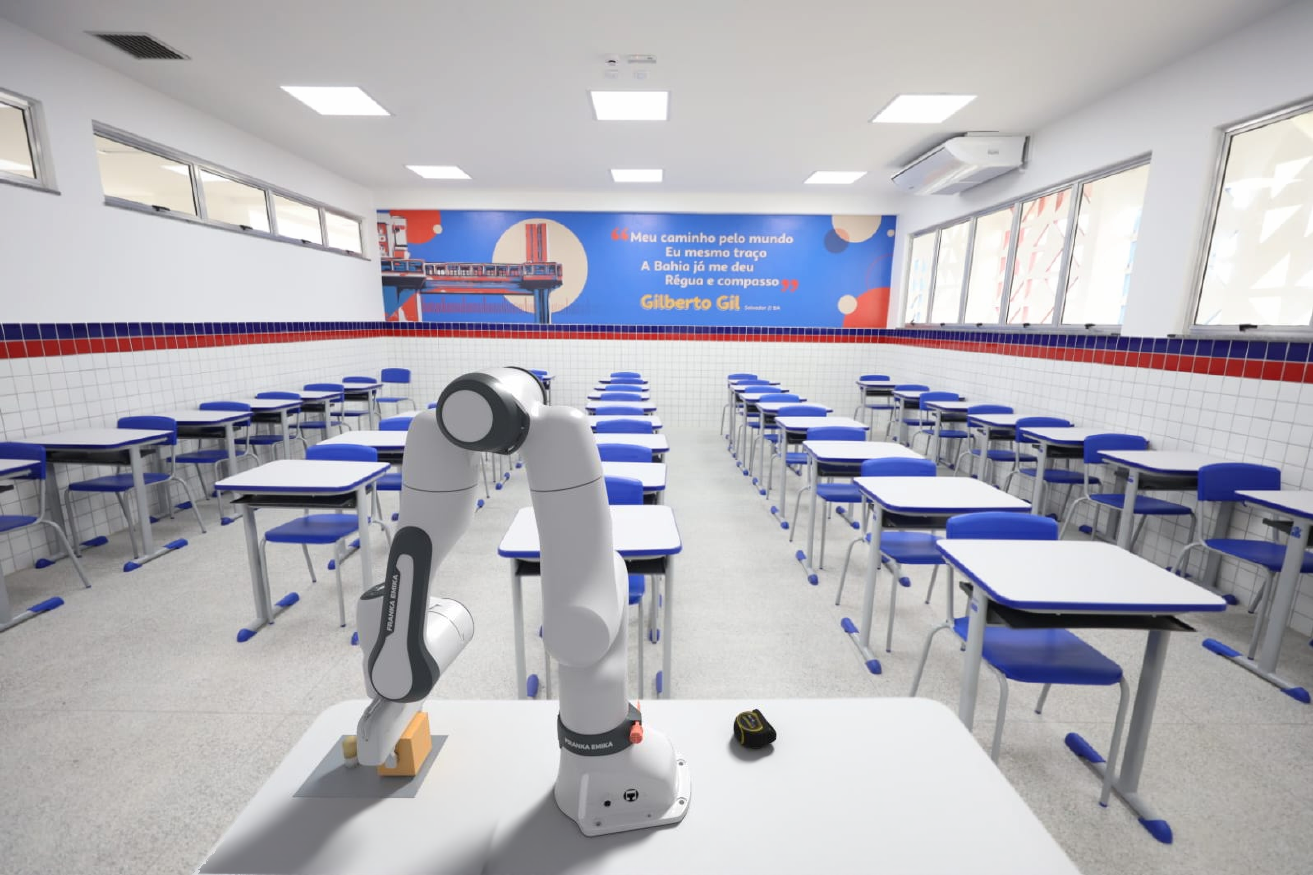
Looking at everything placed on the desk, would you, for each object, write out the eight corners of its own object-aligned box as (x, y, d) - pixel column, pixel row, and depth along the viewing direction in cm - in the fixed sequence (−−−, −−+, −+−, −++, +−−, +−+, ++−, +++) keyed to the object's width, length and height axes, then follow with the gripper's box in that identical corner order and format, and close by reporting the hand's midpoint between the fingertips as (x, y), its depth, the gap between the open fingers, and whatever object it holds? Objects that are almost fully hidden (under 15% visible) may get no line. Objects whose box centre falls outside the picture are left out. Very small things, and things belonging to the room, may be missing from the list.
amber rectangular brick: (432, 747, 100) (427, 712, 99) (415, 775, 94) (410, 738, 92) (396, 747, 100) (391, 712, 99) (378, 775, 94) (372, 738, 93)
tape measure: (778, 747, 101) (778, 728, 101) (743, 756, 99) (743, 737, 99) (760, 722, 108) (760, 705, 107) (727, 730, 106) (727, 713, 105)
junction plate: (449, 742, 104) (446, 713, 103) (415, 805, 90) (411, 772, 89) (343, 741, 105) (339, 713, 104) (293, 804, 91) (288, 772, 90)
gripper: (380, 717, 84) (392, 797, 86) (437, 641, 104) (445, 708, 106) (339, 717, 84) (352, 797, 87) (404, 642, 104) (413, 708, 107)
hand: (404, 747), depth 97 cm, fingers closed on amber rectangular brick, 6 cm apart
